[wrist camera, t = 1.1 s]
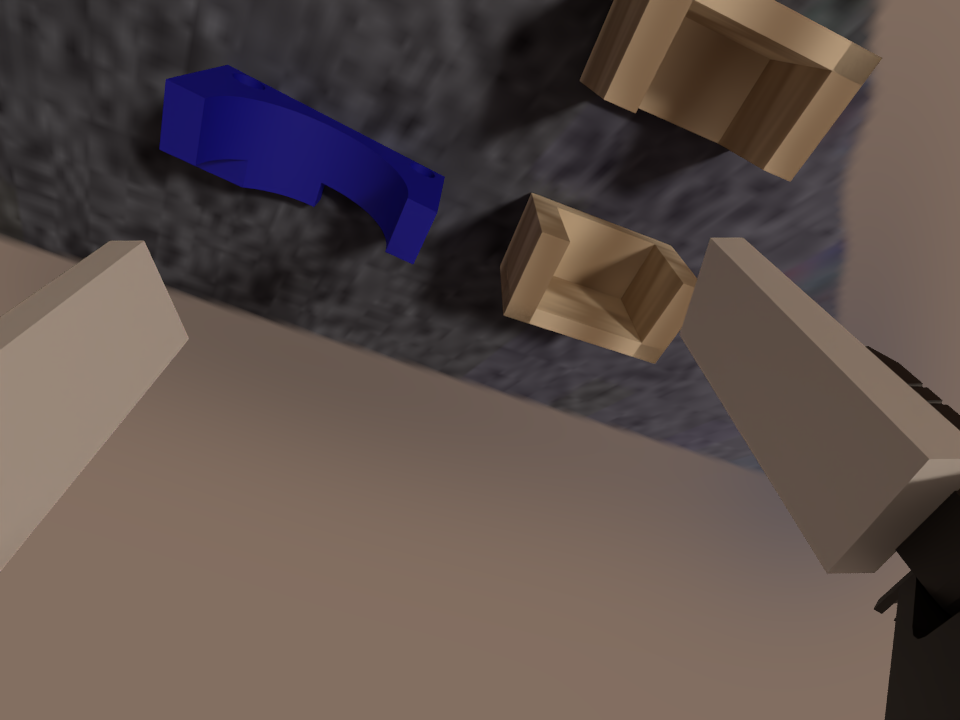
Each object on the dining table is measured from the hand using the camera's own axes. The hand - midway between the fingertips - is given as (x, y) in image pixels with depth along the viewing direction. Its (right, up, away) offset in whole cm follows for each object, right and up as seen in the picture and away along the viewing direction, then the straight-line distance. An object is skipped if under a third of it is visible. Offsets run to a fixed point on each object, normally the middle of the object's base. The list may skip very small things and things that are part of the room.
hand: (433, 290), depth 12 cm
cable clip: (-7, +10, +15) cm, 19 cm away
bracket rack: (+10, +9, +15) cm, 20 cm away
